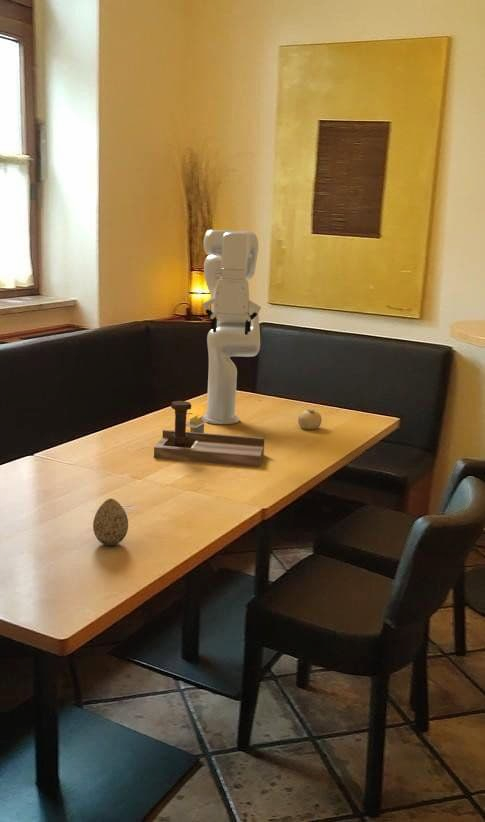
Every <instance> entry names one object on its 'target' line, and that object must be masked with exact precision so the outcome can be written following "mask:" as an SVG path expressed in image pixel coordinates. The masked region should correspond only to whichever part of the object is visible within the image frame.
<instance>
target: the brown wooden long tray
mask: <svg viewBox="0 0 485 822" xmlns="http://www.w3.org/2000/svg"><path fill="white" fill-rule="evenodd" d="M185 432H186V435H188V437H189V438H188V442H187V443H185V448H183V447H174V442H172V440H171V436H172V435H173V434H175V430H173V429H172V430H170V429H163V430H162V437H161V438H160V439H159V441H158V442H157V443H156V444H155V446H154V447H153V458H155V459H166V460H177V461H178V460H179V461H189V462H199V461H200V462H202V463H203V462H204V463H211V462H212V464H224V465H235V466H248V467H257V468H258V467H259V468H260V467H261V463H262V460H263V458H264V454H265V453H264V452H265V451H264V450H265V438H264V437H256V436H253V437H252V436H244V435H243V436H241V435H233V434H232V435H231V434H219V433H208V432H206V433H205V432H204V433H196V432H190V431H185ZM200 462H199V463H200Z"/></svg>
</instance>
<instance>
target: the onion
mask: <svg viewBox="0 0 485 822" xmlns="http://www.w3.org/2000/svg"><path fill="white" fill-rule="evenodd" d="M322 421H323V420H322V416H321V414H320V412H318V411H317V410H315V409H309V408H307V409H305V410H303V411H301V412H300V413H299V415H298V417H297V422H298V425H299V427H300V428H302V429H304V430H317V429H319V427H320V426H321V425H322Z"/></svg>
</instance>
